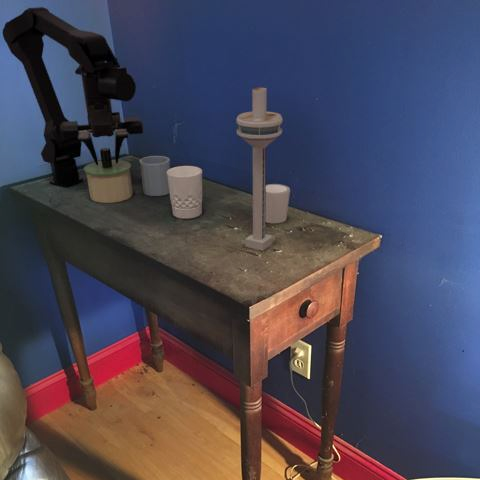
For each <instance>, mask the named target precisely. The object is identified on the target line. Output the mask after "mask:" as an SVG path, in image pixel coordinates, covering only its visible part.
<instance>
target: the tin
mask: <svg viewBox="0 0 480 480" xmlns="http://www.w3.org/2000/svg"><path fill="white" fill-rule="evenodd" d="M85 174H86V179H87V185H88V190H89V192H88V193H89V197H90V199H91V201H93V202H96V203H100V204H113V203H114V204H115V203H119V202H123V201H126V200H128V199H130V198H131V197H132V196H133V186H132V178H131V177H132V176H131V169H130V170H128V171H126V172H124V173H121V174H116V175H109V176H95V175H90V174H87V173H85Z"/></svg>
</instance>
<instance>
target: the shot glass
mask: <svg viewBox="0 0 480 480" xmlns="http://www.w3.org/2000/svg"><path fill="white" fill-rule="evenodd" d="M290 194H291V188H290V187H289V186H288V185H285V184H279V183H270V184H266V209H265V223H267V224H280V223H284V222H286V220H287V218H288V209H289V204H290V203H289V202H290Z"/></svg>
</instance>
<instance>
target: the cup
mask: <svg viewBox="0 0 480 480" xmlns="http://www.w3.org/2000/svg"><path fill="white" fill-rule="evenodd" d="M138 161H139V170H140V171H139V172H140V178H141V189H142V193H143V194H144V195H146V196H149V197H162V196H166V195H170V193H169V186H168V179H167V171H168V170H169V169H171V168H172V167H171V159H170V157H167V156H164V155H149V156H145V157H142V158H140V159H139V160H138Z"/></svg>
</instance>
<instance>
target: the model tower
mask: <svg viewBox="0 0 480 480" xmlns="http://www.w3.org/2000/svg"><path fill="white" fill-rule="evenodd" d="M267 90H268V89H267V88H266V87H254V88H252V91H251V92H252V93H251V95H252V97H251V98H252V111H246V112H242V113H239V114H238V115H237V117H236V125H237V129H236V135H237V136H239V137H240V138H241V139H243V140H244V141H245V142H246V143H247V144H248V145H250V146H251V147H252V234H250V235H249V236H247V237H246V238H244V247H245V248H249V249H253V250H258V251H260V252H261V251H262V252H263V251H265V250H266V249H268V248H269V247H270V246H271V245H273V244H274V236H273V235H272V234H266V222H265V209H266V185H267V146H269V145H270V144H271V143H273V142H274V141H275V140H276V139H278V138H279V137H280V136H281V135H282V134H283V129H282V128H281V127H282V123H283V116H282V114H281V113H278V112H274V111H267V105H268V104H267V103H268V102H267V100H268V99H267V97H268V95H267V93H268V91H267Z"/></svg>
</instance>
